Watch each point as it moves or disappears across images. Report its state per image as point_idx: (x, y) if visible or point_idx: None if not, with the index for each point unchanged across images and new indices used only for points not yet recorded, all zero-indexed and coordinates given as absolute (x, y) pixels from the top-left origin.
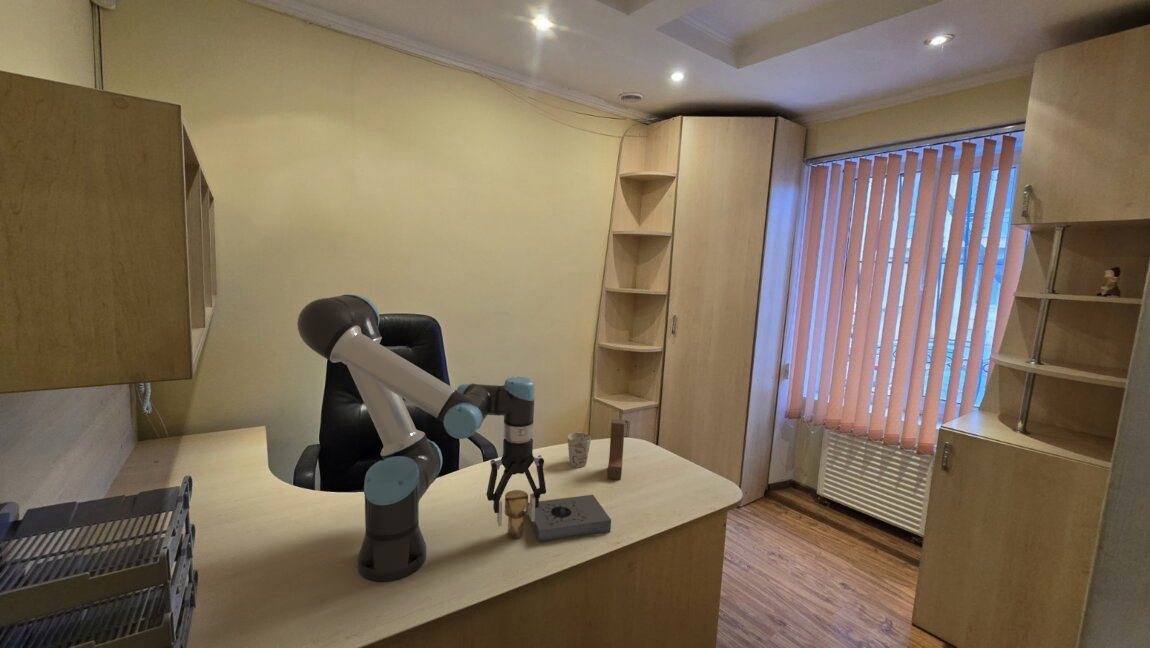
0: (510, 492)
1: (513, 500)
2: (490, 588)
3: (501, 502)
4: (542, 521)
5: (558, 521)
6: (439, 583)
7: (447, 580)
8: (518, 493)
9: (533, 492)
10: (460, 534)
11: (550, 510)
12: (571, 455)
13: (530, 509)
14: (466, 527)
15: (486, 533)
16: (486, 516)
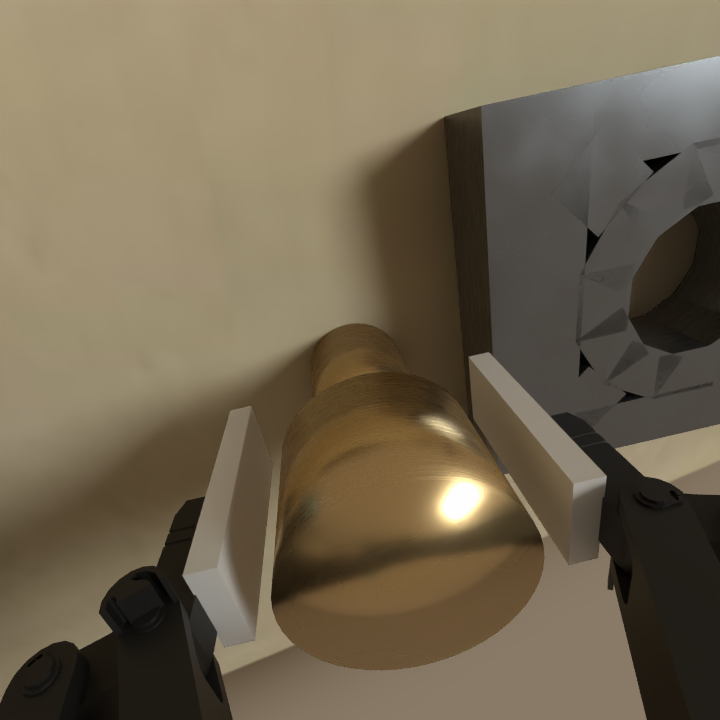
0: (337, 536)
1: (373, 658)
2: (270, 643)
3: (246, 638)
4: (541, 393)
5: (638, 393)
6: (73, 642)
7: (98, 629)
8: (438, 546)
9: (619, 520)
10: (5, 358)
11: (640, 255)
12: None
13: (498, 417)
14: (10, 281)
15: (177, 349)
16: (116, 127)
